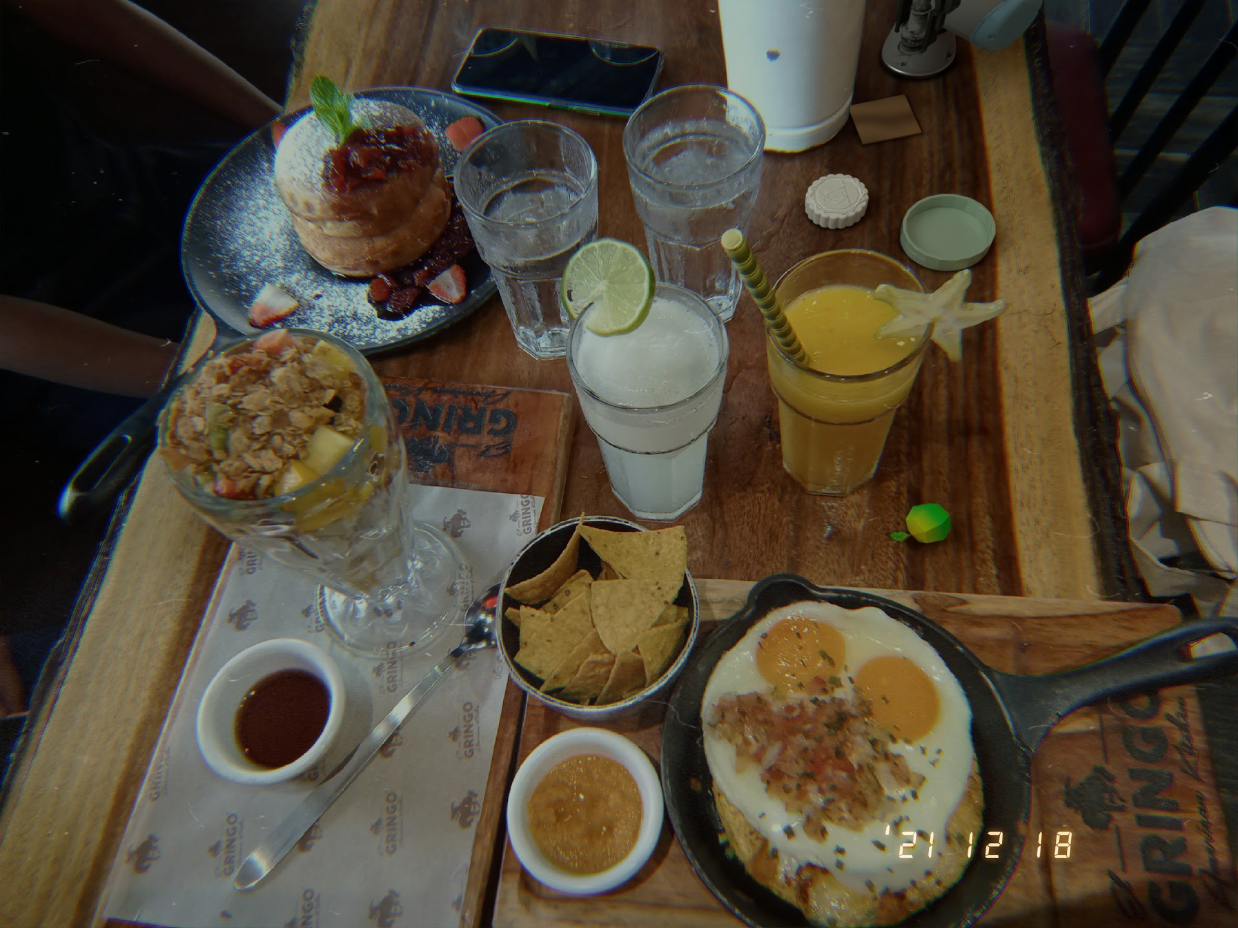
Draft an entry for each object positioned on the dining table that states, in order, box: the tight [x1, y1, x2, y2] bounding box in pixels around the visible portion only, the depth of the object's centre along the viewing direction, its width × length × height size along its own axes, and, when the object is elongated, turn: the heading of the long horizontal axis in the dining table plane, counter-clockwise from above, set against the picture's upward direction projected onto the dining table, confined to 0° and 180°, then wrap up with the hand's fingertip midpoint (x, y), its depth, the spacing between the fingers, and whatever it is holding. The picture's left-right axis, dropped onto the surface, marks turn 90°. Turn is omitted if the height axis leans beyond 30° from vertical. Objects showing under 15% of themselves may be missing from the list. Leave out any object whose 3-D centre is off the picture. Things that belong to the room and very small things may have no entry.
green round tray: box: [899, 193, 997, 272], centre depth 138 cm, size 16×16×3 cm
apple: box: [889, 502, 952, 544], centre depth 112 cm, size 7×6×9 cm
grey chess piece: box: [897, 0, 932, 57], centre depth 130 cm, size 6×6×12 cm
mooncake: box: [804, 173, 869, 230], centre depth 144 cm, size 12×12×4 cm
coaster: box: [849, 93, 922, 146], centre depth 154 cm, size 12×12×1 cm
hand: (915, 36), depth 133 cm, fingers closed on grey chess piece, 6 cm apart
